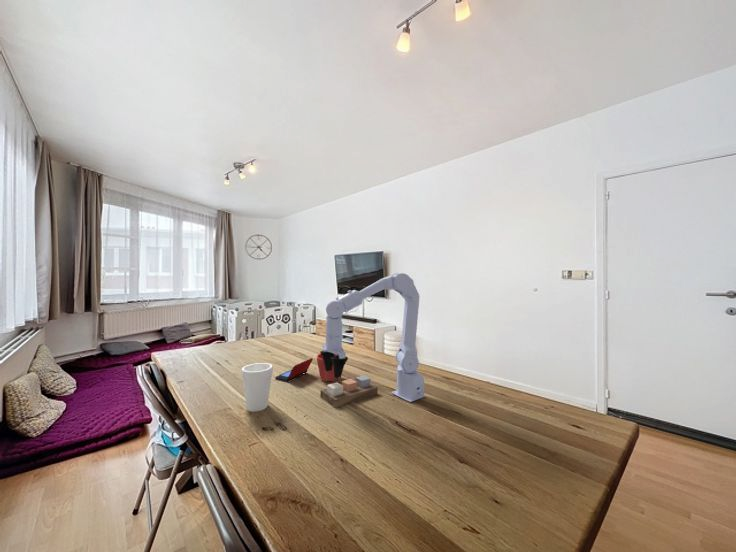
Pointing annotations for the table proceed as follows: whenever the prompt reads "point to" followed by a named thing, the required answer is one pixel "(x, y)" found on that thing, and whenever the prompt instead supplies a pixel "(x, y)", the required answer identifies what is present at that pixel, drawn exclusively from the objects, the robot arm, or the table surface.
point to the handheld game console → (295, 371)
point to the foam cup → (256, 385)
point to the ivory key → (334, 389)
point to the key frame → (349, 395)
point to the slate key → (362, 381)
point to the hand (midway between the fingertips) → (333, 373)
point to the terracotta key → (349, 385)
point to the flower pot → (323, 373)
